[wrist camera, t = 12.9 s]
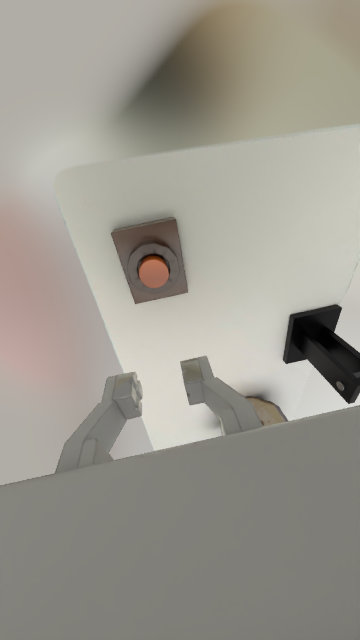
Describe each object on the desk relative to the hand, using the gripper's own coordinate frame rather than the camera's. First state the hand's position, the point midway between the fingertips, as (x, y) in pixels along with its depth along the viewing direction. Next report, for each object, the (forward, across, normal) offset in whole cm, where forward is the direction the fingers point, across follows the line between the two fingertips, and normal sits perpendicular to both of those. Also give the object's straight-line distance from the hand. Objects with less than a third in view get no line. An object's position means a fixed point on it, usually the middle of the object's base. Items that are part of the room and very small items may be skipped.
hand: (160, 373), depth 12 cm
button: (+17, 0, 0) cm, 17 cm away
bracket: (+21, -27, +21) cm, 40 cm away
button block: (+21, 0, 0) cm, 21 cm away
